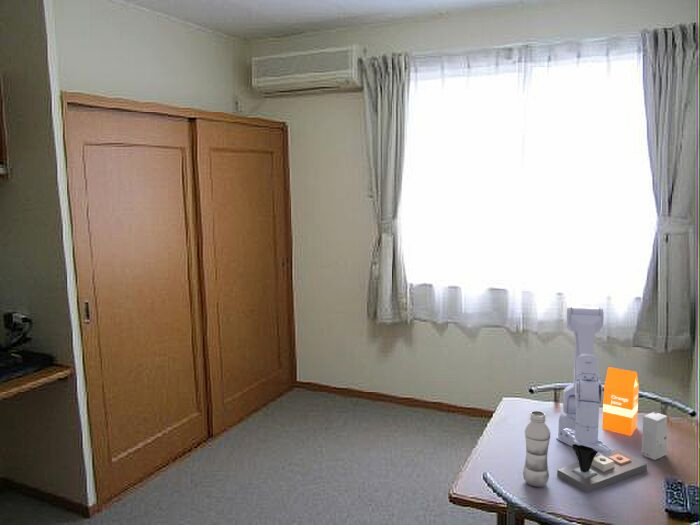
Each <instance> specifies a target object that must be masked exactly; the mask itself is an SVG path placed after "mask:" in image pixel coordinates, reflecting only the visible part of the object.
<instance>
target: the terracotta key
mask: <svg viewBox="0 0 700 525" xmlns="http://www.w3.org/2000/svg"><path fill="white" fill-rule="evenodd" d="M609 459H611V460H613V461H614V463H616V464H618V465H620V466H622V465H625V464H628V463H630V459H628V458H626V457H624V456H622V455H619V454H616V455H614V456H611V457H609Z"/></svg>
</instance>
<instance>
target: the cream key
mask: <svg viewBox="0 0 700 525" xmlns="http://www.w3.org/2000/svg"><path fill="white" fill-rule="evenodd" d="M600 455H601V454H600ZM597 456H598V455H597ZM592 466H594V467H596V468H598V469H600V470H602V471H606V470H609V469H612V468H614V461H613V460H611V459H608V458H606V457H604V456H602V455H601V456H598V457H595V458H594V459H593V461H592Z"/></svg>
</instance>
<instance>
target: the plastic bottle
mask: <svg viewBox="0 0 700 525" xmlns="http://www.w3.org/2000/svg"><path fill="white" fill-rule="evenodd" d="M529 420H530V422H529V423H527V425H526V427H525V429H524V438H525V439H524V440H525V444H526V445H525V453H526V454H525V461H524V466H523V470H522V476H523V480H524V481H525V483H527V484H528V485H530V486H532V487H539V488H540V487H545V486H546V485H547V484H548V482H549V479H550V474H549V468H548V452H549V444H550V440H551V439H550V438H551V431H550V428H549V427H548V426H547V424H546V420H547V419H546V413H545V412H543V411H540V410H539V411H538V410H533V411H531V412H530V416H529Z"/></svg>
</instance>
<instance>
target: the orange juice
mask: <svg viewBox="0 0 700 525" xmlns="http://www.w3.org/2000/svg"><path fill="white" fill-rule="evenodd" d="M639 390H640V385H639V380H638V372H637V371H632V370H628V369H621V368H616V367H610V366H608V367H607V373H606V376H605V381H604V387H603V404H602V427H601V429H602V430H606V431H611V432H614V433H619V434H622V435H626V436H629V437H630V436H632V435H633V434H634V432H635V431H636V429H637V428H638V426H637V424H638V410H639V409H638V408H639Z"/></svg>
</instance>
